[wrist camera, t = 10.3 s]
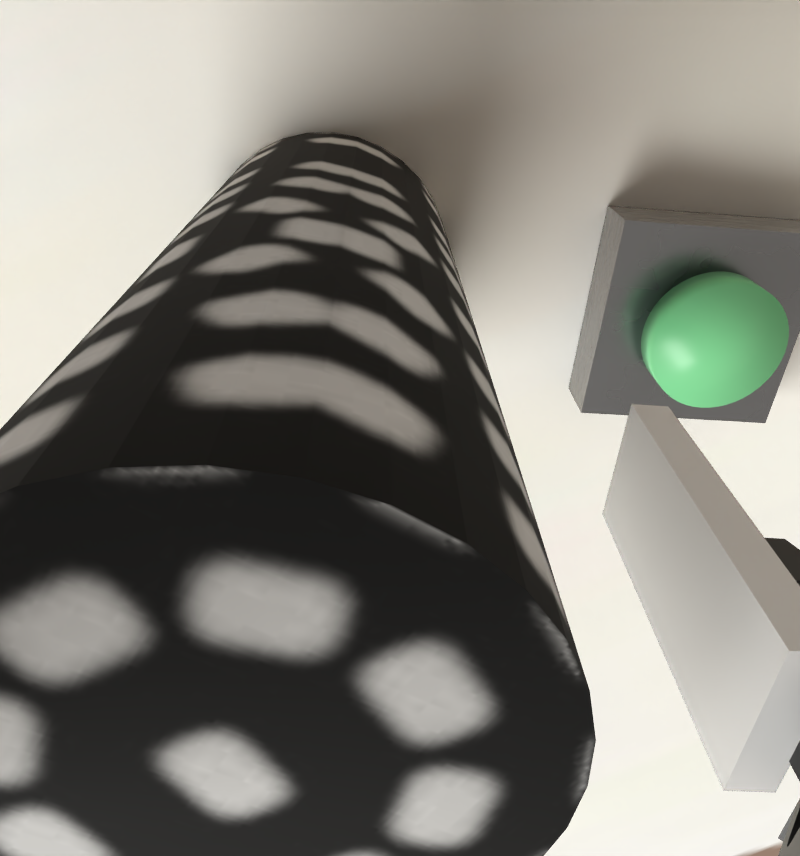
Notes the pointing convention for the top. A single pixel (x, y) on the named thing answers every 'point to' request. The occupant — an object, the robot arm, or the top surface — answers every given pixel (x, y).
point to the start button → (714, 339)
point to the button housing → (652, 278)
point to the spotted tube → (283, 552)
